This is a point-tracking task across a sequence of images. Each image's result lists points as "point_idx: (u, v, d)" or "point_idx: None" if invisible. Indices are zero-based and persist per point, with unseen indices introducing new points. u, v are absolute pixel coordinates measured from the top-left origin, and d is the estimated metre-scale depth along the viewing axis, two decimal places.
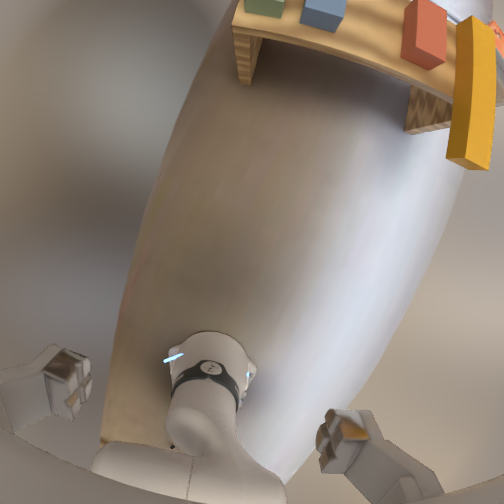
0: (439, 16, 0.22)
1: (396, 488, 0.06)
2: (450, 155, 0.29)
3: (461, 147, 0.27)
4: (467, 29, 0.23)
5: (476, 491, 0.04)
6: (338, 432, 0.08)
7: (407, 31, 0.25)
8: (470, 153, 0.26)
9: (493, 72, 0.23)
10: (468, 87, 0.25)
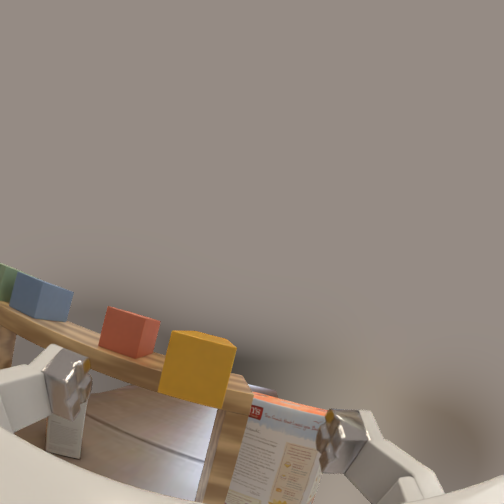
0: (149, 318, 0.33)
1: (396, 488, 0.06)
2: (161, 374, 0.17)
3: None
4: None
5: (476, 491, 0.04)
6: (338, 432, 0.08)
7: None
8: (184, 333, 0.19)
9: (223, 339, 0.30)
10: None
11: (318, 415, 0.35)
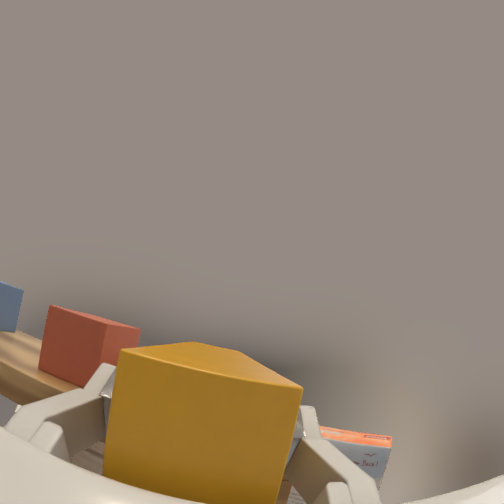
0: (122, 324, 0.21)
1: (324, 494, 0.06)
2: (106, 459, 0.05)
3: None
4: None
5: (476, 491, 0.04)
6: None
7: None
8: (157, 355, 0.07)
9: (238, 354, 0.18)
10: None
11: (370, 446, 0.23)
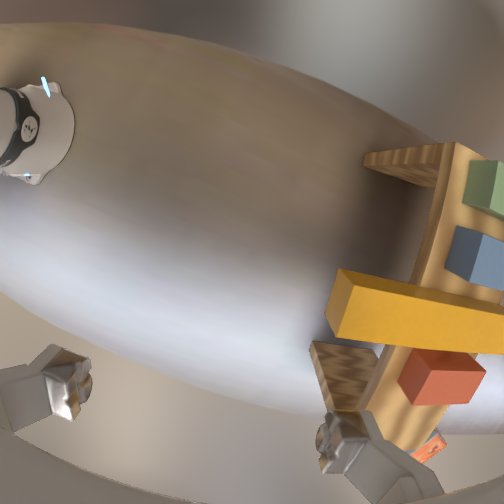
0: (462, 395, 0.23)
1: (396, 488, 0.06)
2: (345, 272, 0.23)
3: (364, 283, 0.21)
4: None
5: (476, 491, 0.04)
6: (338, 432, 0.08)
7: (444, 357, 0.25)
8: (361, 296, 0.20)
9: (464, 346, 0.21)
10: (445, 300, 0.21)
11: None
